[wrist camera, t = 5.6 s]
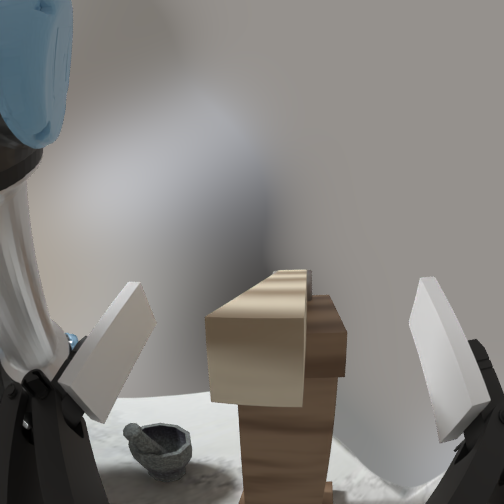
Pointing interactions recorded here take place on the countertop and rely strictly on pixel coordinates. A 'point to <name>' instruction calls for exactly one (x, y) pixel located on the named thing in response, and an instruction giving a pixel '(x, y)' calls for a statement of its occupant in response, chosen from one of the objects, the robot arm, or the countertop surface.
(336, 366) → the post stand
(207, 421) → the countertop surface
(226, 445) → the countertop surface
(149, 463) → the mortar and pestle
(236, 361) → the bar
